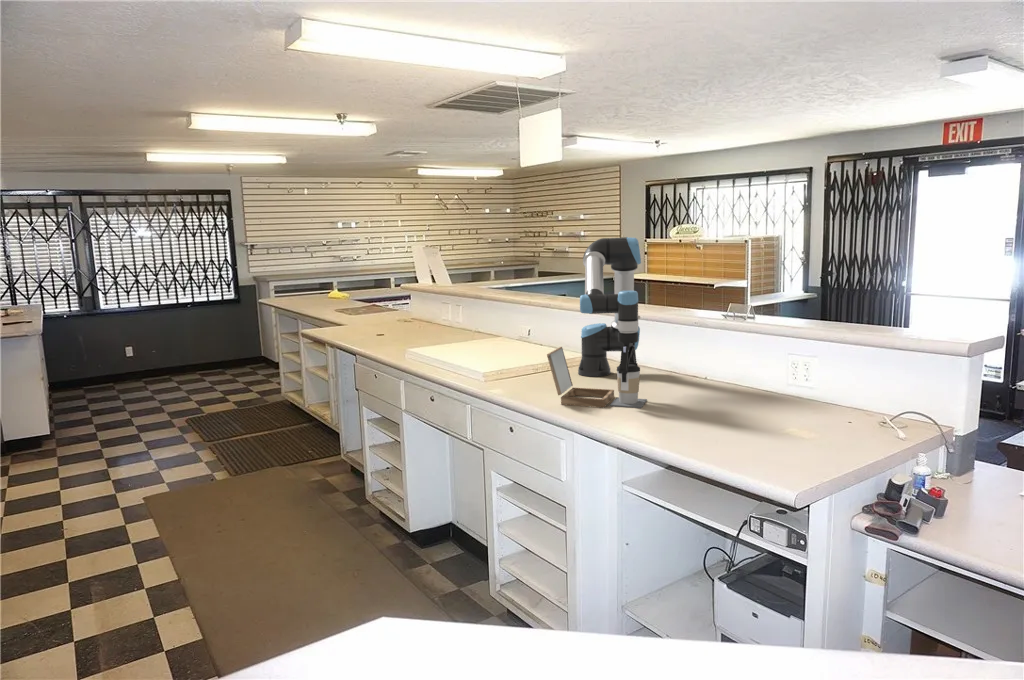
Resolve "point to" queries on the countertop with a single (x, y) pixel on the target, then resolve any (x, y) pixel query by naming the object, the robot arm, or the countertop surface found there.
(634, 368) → the coffee cup
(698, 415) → the countertop surface
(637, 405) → the mat
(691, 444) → the countertop surface
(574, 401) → the tray
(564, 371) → the lid
